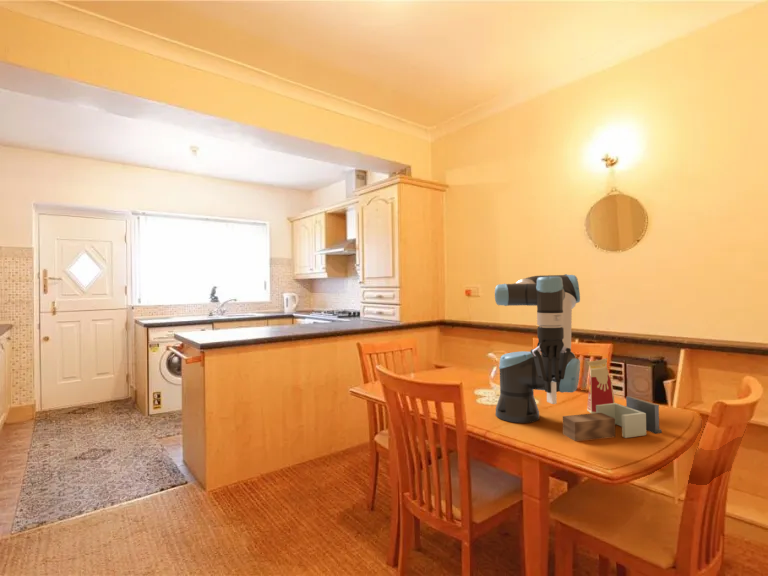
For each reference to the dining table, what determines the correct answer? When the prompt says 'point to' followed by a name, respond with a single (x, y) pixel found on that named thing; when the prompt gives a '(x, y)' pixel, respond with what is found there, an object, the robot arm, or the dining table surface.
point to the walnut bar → (588, 426)
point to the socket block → (625, 418)
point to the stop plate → (647, 408)
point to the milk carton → (599, 385)
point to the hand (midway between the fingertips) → (551, 402)
